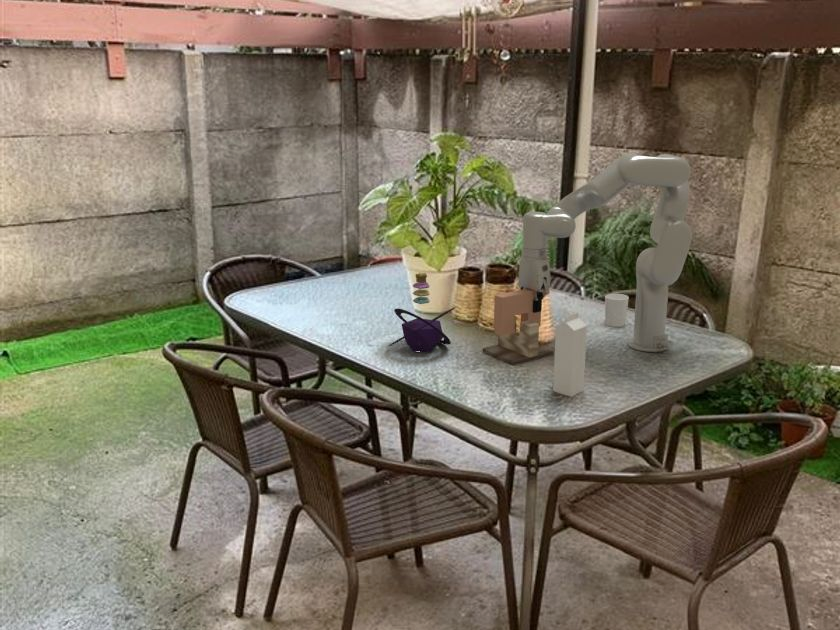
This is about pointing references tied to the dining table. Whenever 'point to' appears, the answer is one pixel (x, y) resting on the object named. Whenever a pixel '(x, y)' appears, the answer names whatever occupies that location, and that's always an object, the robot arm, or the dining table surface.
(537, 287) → the robot arm
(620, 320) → the white cup
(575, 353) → the milk
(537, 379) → the dining table surface
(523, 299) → the brown arch block
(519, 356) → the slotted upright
